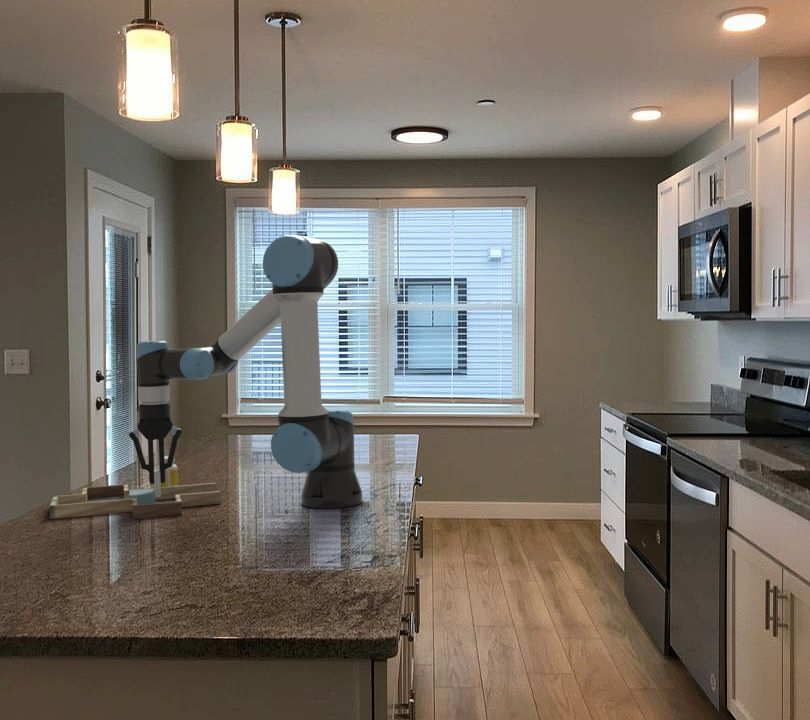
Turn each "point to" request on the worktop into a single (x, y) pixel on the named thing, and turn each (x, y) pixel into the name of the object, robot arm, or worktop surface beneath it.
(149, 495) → the block
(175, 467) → the supplement bottle
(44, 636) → the worktop surface
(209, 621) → the worktop surface
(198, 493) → the wooden frame tray
